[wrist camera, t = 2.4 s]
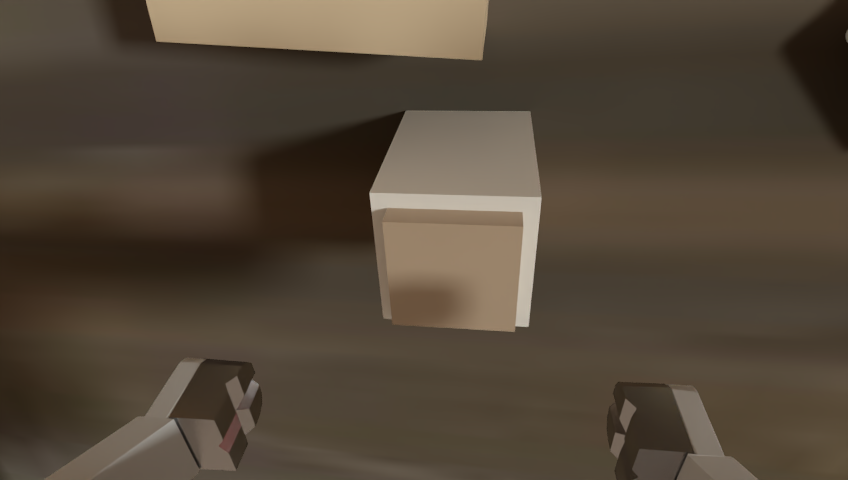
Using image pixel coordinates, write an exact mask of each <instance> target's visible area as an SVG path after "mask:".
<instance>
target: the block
mask: <svg viewBox="0 0 848 480" xmlns="http://www.w3.org/2000/svg"><path fill="white" fill-rule="evenodd" d="M488 1H489V0H146V3H147V7H148V11H149V15H150V19H151V23H152V27H153V30H154V34H155V38H156V42H173V43H190V44H207V45H225V46H242V47H260V48H277V49H295V50H312V51H330V52H347V53H365V54H382V55H399V56H417V57H434V58H452V59H469V60H482V57H483V49H484V41H485V33H486V25H487V13H488Z"/></svg>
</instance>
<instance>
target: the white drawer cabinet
mask: <svg viewBox="0 0 848 480" xmlns="http://www.w3.org/2000/svg"><path fill="white" fill-rule="evenodd" d="M369 194H370V203H371V212H372V221H373V230H374V239H375V247H376V256H377V265H378V274H379V283H380V292H381V301H382V310H383V318H385V319H392V325H409V326H426V327H442V328H459V329H476V330H493V331H510V332H515V326H523V327H528V326H529V316H530V306H531V296H532V287H533V277H534V267H535V257H536V247H537V238H538V228H539V218H540V208H541V198H542V197H541V189H540V181H539V174H538V166H537V159H536V151H535V143H534V136H533V128H532V120H531V113H530V111H405V114H404V116H403V118H402V120H401V123H400V125H399V127H398V129H397V132H396V134H395V136H394V138H393V141H392V143H391V145H390V147H389V150H388V152H387V154H386V156H385V159H384V161H383V163H382V165H381V168H380V170H379V172H378V174H377V177H376V179H375V181H374V183H373V186H372V188H371V190H370V193H369Z"/></svg>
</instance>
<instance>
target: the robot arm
mask: <svg viewBox="0 0 848 480" xmlns="http://www.w3.org/2000/svg"><path fill="white" fill-rule="evenodd" d="M254 374H255V371H254V368H253V366H252V363H249V362H239V361H227V360H214V359H200V358H185V359H184V360H182V361H181V362H180V363H179V364H178V366H177V367H176V369H175V370H174V372H173V373H172V375H171V376H170V378H169V379H168V381H167V383H166V384H165V386H164V387H163V389H162V390H161V392H160V393H159V395H158V396H157V398H156V400H155V401H154V403H153V404H152V406H151V407H150V409H149V410H148V412H147V413H146V415H145V417H142V416H138V417H137V418H135V419H134V420H132V421H131V422H129V423H128V424H126V425H125V426H123V427H122V428H120V429H119V430H117V431H116V432H114V433H113V434H111V435H110V436H108V437H107V438H105V439H104V440H102V441H101V442H99V443H98V444H96V445H95V446H93V447H92V448H90V449H89V450H87V451H86V452H84V453H83V454H81V455H80V456H78V457H77V458H75V459H74V460H73V461H71V462H70V463H68V464H67V465H65V466H64V467H62V468H61V469H59V470H58V471H56V472H55V473H53V474H52V475H50V476H49V477H47V478H46V479H44V480H191V479H192V478H193V477H194V476H195V475H196V474H198V473H199V472H200V470H199V469H211V470H232V471H236V470H237V468H238V466H239V463H240V461H241V459H242V456H243V454H244V452H245V449H246V447H247V445H248V442H247V439H246V436H245V434H246V433H248V432H249V431H250V430H251V429H253V428H254V427H255V426H256V424H257V421H258V419H259V416H260V412H261V406H262V392H261V389H260V386H259V385H258V384H257V383H256V382H254V381H253V380H252V378H253V376H254ZM613 395H614V399H615V403H614V404H612V405H611V406H609V411H608V415H607V436H608V442H609V447H610V451H611V452H612V453H613V454H614V455H615V456H616V457H617V458H618V460H617V463H616V467H615V470H614V471H615V475H616V479H617V480H758V479H757V478H756V477H755V476H753V475H752V474H751V473H750V472H749V471H748V470H747V469H746V468H744V467H743V466H742V465H741V464H740V463H739V462H738V461H736V460H735V459H734V458H733V457H728V456H724V453H723V451H722V449H721V446H720V444H719V442H718V439H717V437H716V435H715V432H714V430H713V428H712V425H711V423H710V420H709V418H708V416H707V413H706V411H705V409H704V406H703V404H702V402H701V399H700V397H699V394H698V392H697V390H696V389H695V388H694V387H693V386H687V385H669V384H667V385H666V384H657V383H633V382H618V383H617V384H616V385H615V388H614V392H613Z"/></svg>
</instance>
